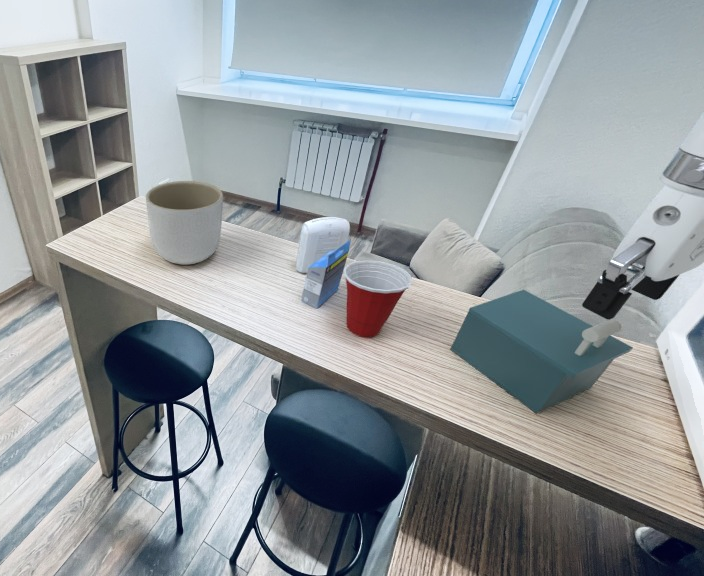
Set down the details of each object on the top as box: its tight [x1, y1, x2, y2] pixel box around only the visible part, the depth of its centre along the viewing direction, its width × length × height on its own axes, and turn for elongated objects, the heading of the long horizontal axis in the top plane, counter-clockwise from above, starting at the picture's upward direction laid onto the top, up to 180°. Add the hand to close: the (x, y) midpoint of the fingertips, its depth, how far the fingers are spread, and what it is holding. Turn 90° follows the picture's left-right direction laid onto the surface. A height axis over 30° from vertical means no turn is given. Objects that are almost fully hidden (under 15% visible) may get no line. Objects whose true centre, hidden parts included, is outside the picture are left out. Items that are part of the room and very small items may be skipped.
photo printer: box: [295, 216, 351, 274], centre depth 88 cm, size 10×4×12 cm, turn 98°
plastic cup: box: [343, 259, 413, 339], centre depth 72 cm, size 11×11×12 cm
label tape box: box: [301, 238, 352, 309], centre depth 80 cm, size 9×4×12 cm, turn 136°
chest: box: [450, 312, 615, 414], centre depth 64 cm, size 15×13×8 cm
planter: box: [145, 180, 224, 266], centre depth 94 cm, size 17×17×15 cm
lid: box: [467, 289, 634, 378], centre depth 60 cm, size 15×13×5 cm
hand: (620, 302), depth 52 cm, fingers open, 9 cm apart
